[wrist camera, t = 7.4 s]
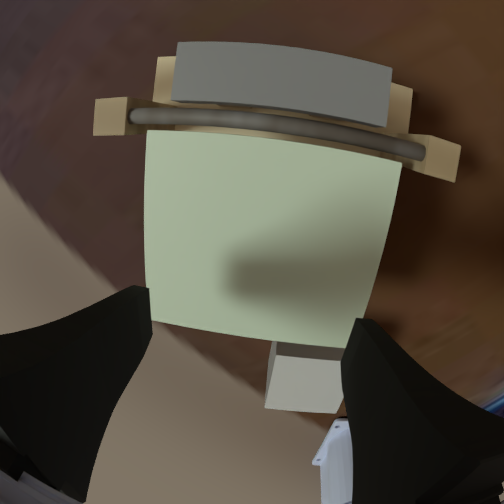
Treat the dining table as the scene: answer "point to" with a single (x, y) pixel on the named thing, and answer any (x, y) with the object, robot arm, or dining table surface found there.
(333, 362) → the white cube
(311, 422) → the dining table surface
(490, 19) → the dining table surface
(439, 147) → the frame
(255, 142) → the trapdoor
